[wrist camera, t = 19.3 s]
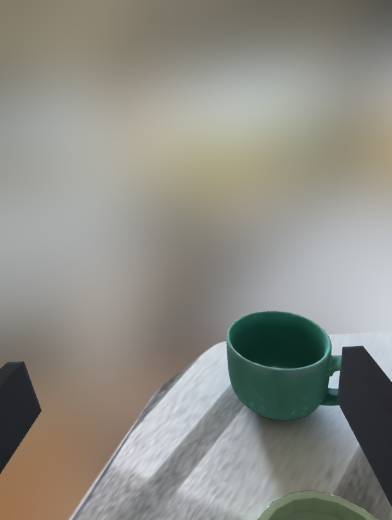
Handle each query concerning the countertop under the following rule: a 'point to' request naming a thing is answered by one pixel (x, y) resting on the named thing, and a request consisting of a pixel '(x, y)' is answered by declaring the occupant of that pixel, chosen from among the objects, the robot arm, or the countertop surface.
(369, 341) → the countertop surface
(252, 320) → the mug
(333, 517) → the bowl
